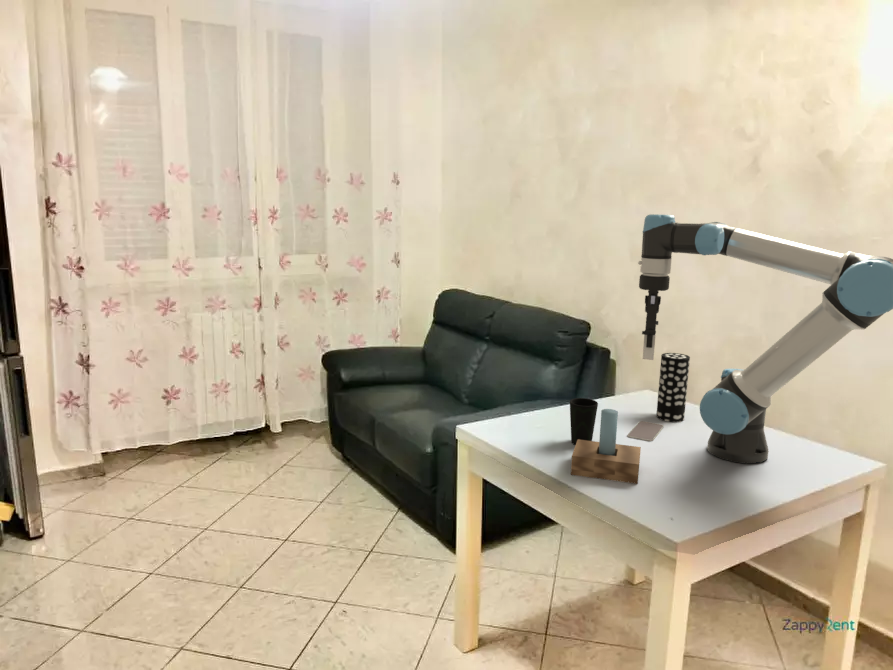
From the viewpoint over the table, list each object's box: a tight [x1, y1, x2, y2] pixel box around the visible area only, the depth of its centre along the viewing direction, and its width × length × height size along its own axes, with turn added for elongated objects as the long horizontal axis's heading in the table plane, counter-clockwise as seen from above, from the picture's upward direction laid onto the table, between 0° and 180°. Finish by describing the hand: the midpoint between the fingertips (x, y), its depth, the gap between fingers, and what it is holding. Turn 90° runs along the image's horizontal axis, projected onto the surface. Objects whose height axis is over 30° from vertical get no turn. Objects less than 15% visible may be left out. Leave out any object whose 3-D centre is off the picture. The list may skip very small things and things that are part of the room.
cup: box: [569, 397, 599, 446], centre depth 184 cm, size 8×8×12 cm
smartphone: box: [627, 420, 664, 442], centre depth 196 cm, size 7×1×15 cm
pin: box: [598, 408, 619, 456], centre depth 166 cm, size 4×4×14 cm
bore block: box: [570, 439, 642, 485], centre depth 167 cm, size 16×12×5 cm
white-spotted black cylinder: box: [655, 352, 691, 423], centre depth 206 cm, size 8×8×20 cm
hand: (648, 353), depth 177 cm, fingers open, 13 cm apart
